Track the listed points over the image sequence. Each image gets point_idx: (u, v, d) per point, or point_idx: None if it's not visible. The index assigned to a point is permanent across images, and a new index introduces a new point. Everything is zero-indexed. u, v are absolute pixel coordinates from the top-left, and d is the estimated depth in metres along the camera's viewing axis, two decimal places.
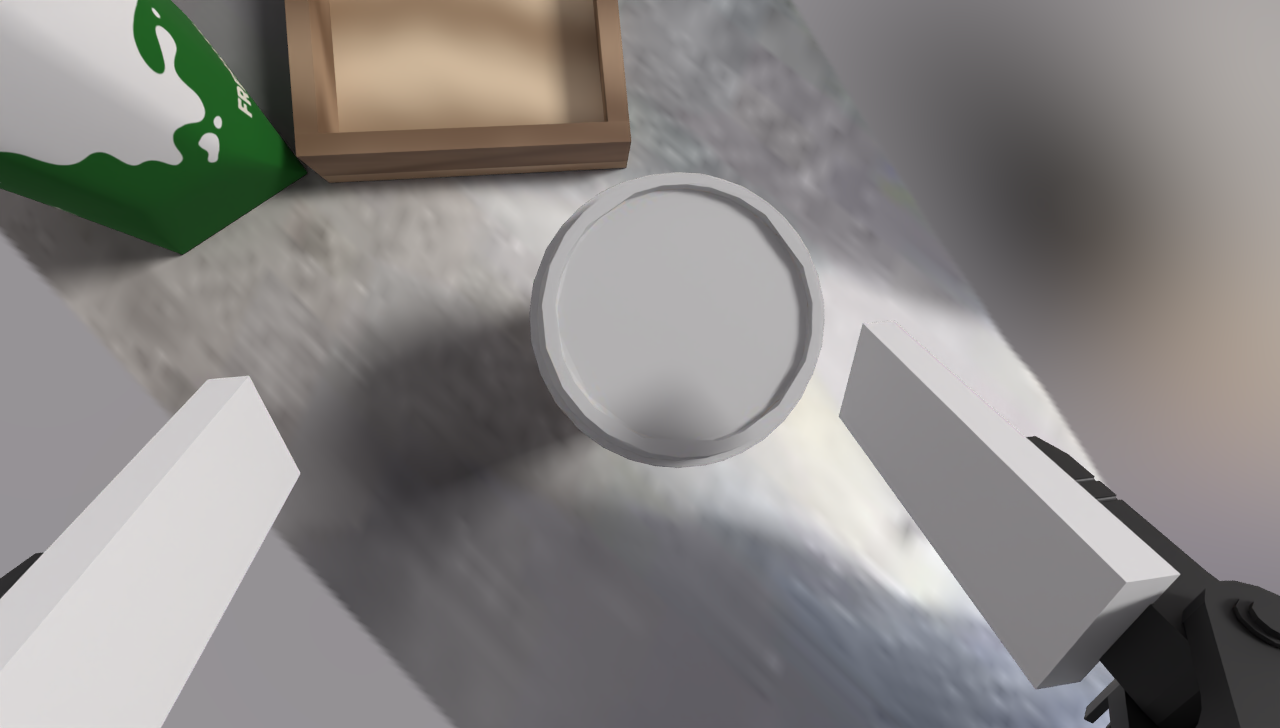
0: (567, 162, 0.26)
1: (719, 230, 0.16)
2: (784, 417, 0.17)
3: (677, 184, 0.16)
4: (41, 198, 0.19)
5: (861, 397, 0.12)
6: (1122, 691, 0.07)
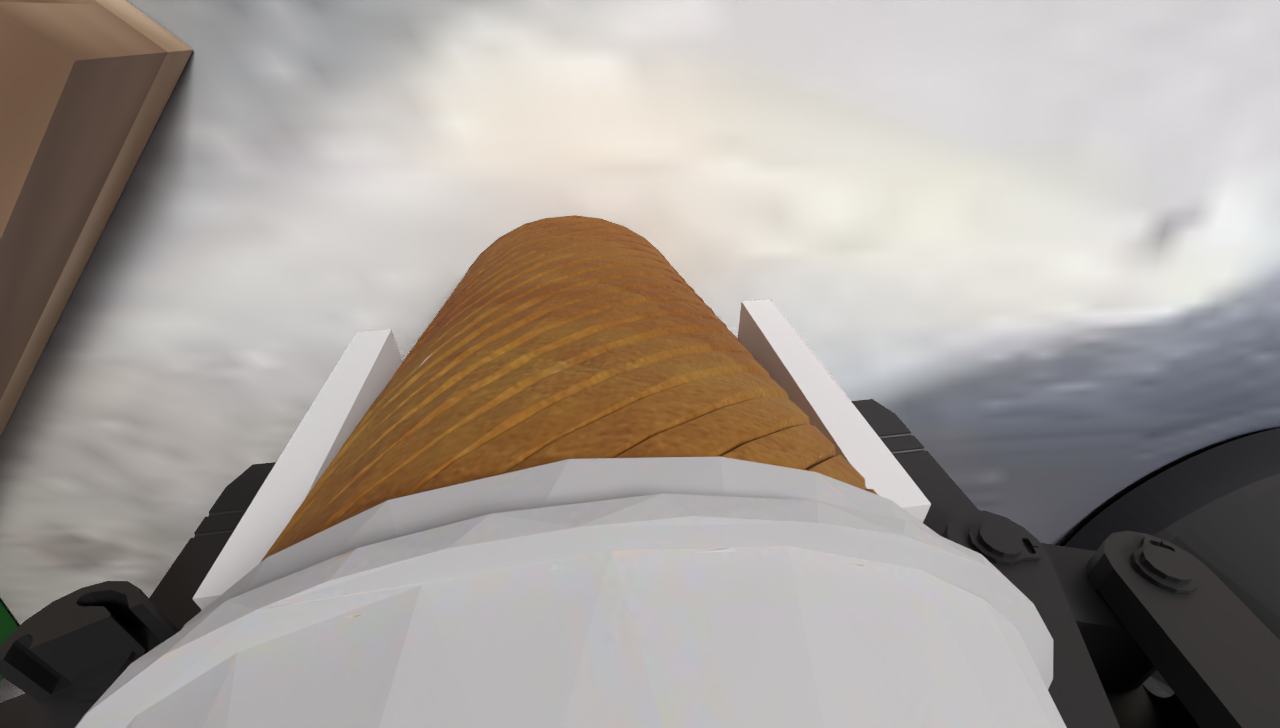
0: (97, 186, 0.10)
1: None
2: None
3: None
4: None
5: None
6: None
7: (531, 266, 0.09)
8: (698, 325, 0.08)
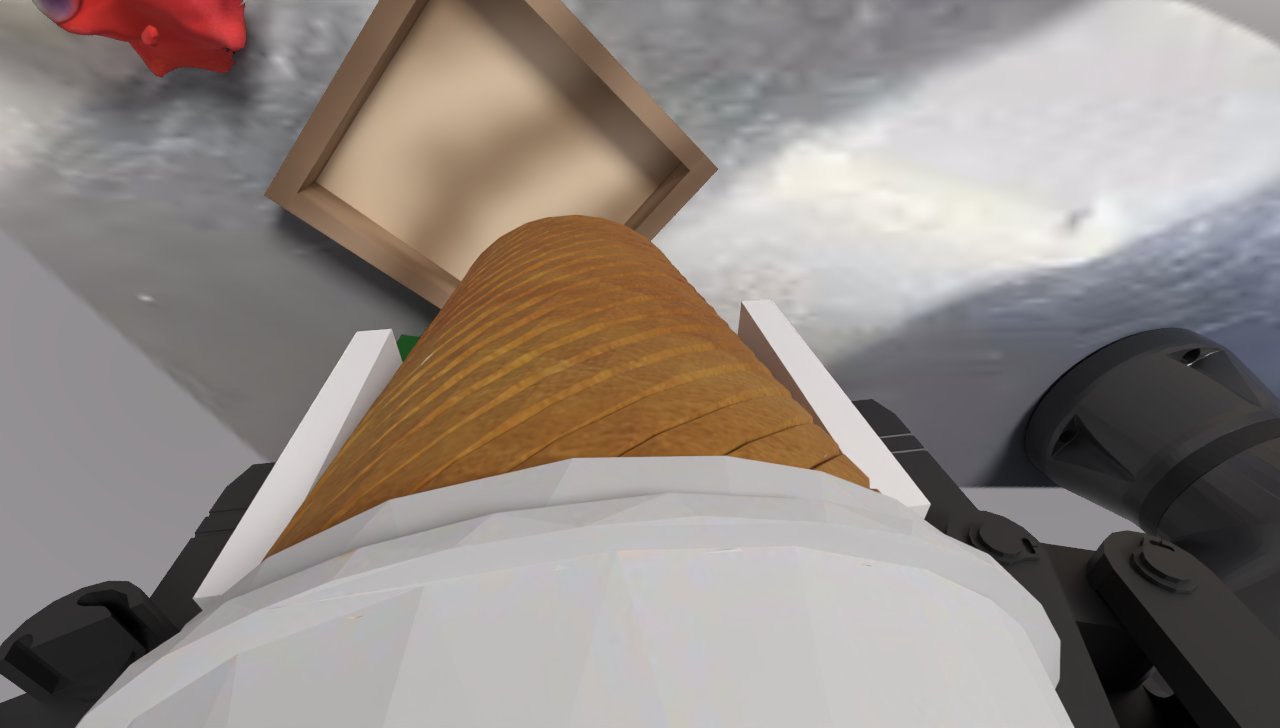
0: None
1: None
2: None
3: None
4: None
5: None
6: None
7: (532, 265, 0.09)
8: (700, 324, 0.07)
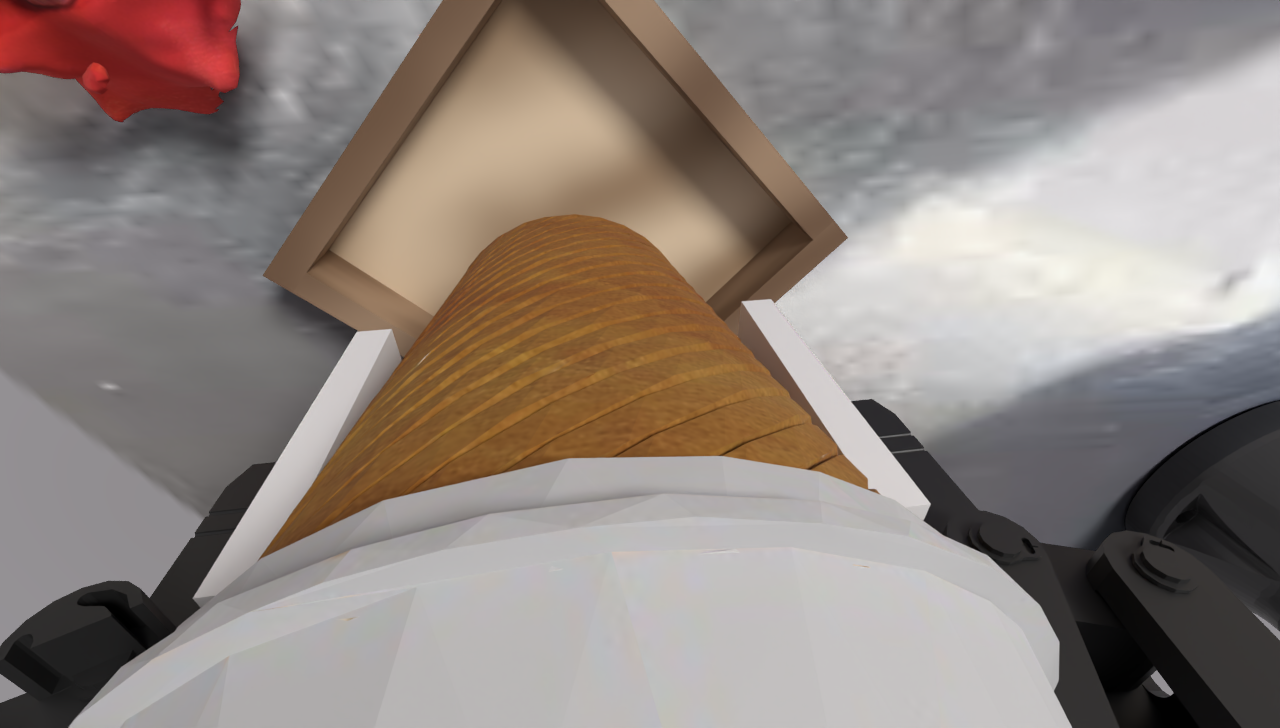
0: None
1: None
2: None
3: None
4: None
5: None
6: None
7: (530, 264, 0.09)
8: (699, 324, 0.07)
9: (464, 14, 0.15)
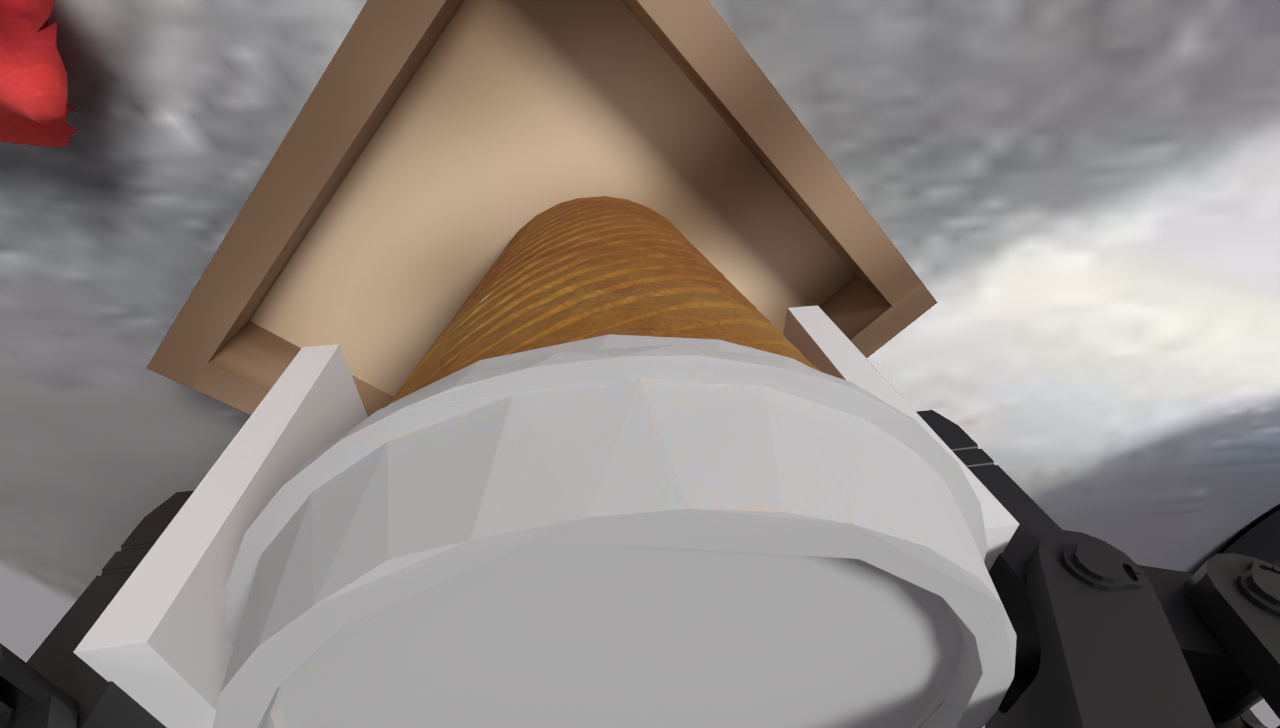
0: None
1: (538, 605, 0.05)
2: None
3: (303, 664, 0.04)
4: None
5: None
6: None
7: (568, 231, 0.11)
8: (710, 277, 0.09)
9: (412, 4, 0.10)
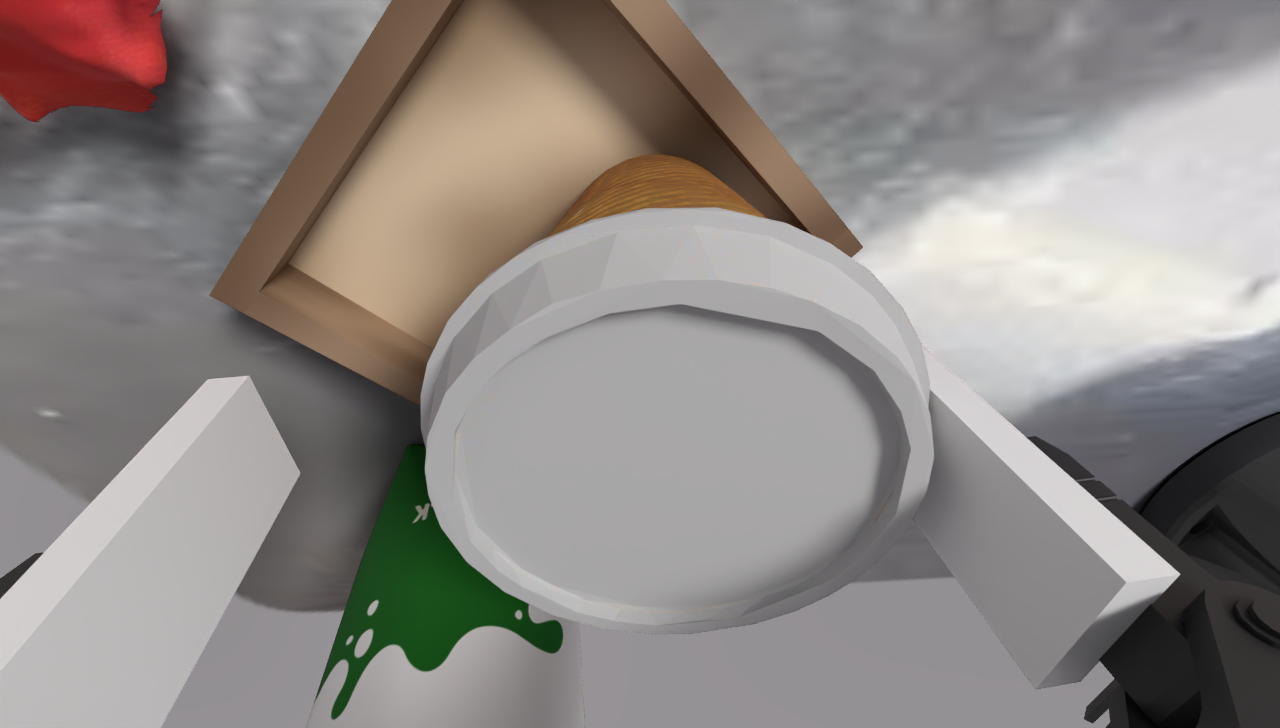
0: None
1: (625, 363, 0.08)
2: None
3: (494, 375, 0.07)
4: None
5: None
6: (1121, 691, 0.07)
7: (638, 173, 0.14)
8: (746, 204, 0.12)
9: None
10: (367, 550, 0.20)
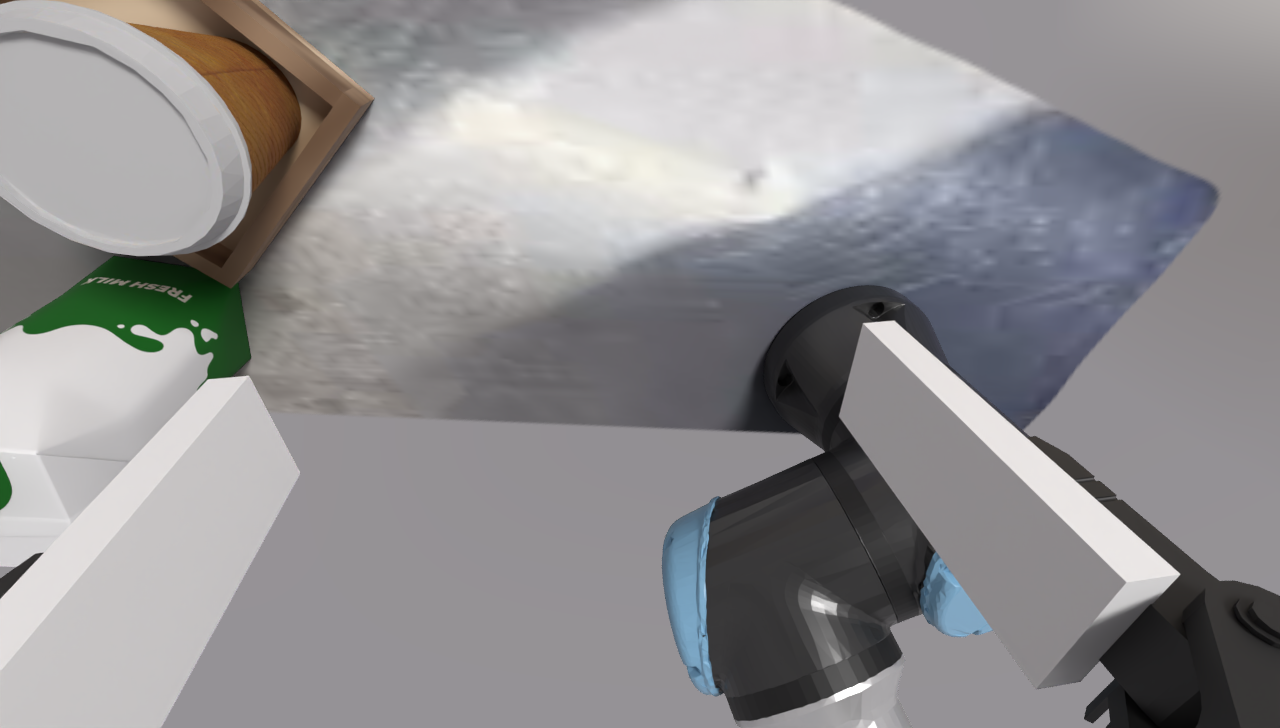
0: (341, 141, 0.31)
1: (26, 68, 0.18)
2: (243, 149, 0.22)
3: None
4: None
5: (861, 397, 0.12)
6: (1122, 691, 0.07)
7: None
8: (184, 37, 0.23)
9: None
10: None
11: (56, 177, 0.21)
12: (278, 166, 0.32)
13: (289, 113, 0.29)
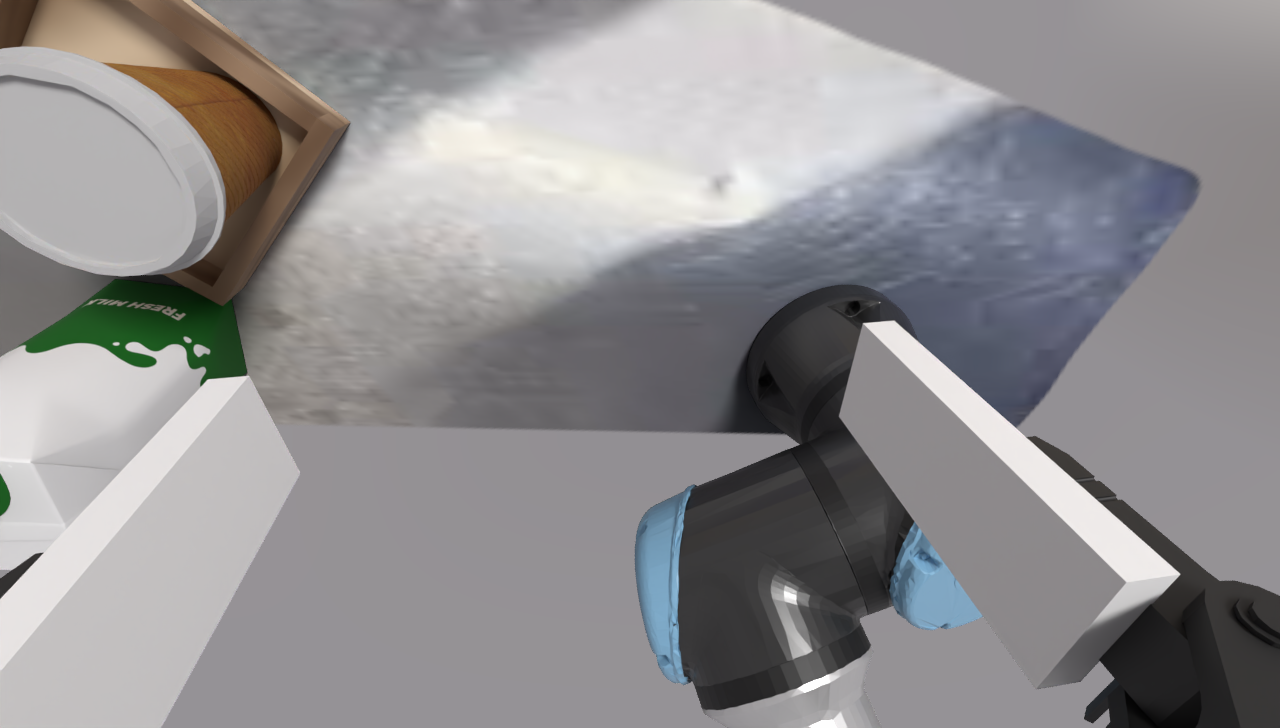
0: (320, 163, 0.33)
1: (14, 108, 0.20)
2: (215, 174, 0.23)
3: None
4: None
5: (861, 397, 0.12)
6: (1122, 691, 0.07)
7: None
8: (163, 74, 0.25)
9: None
10: None
11: (45, 206, 0.22)
12: (263, 189, 0.34)
13: (268, 139, 0.30)
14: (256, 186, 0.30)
